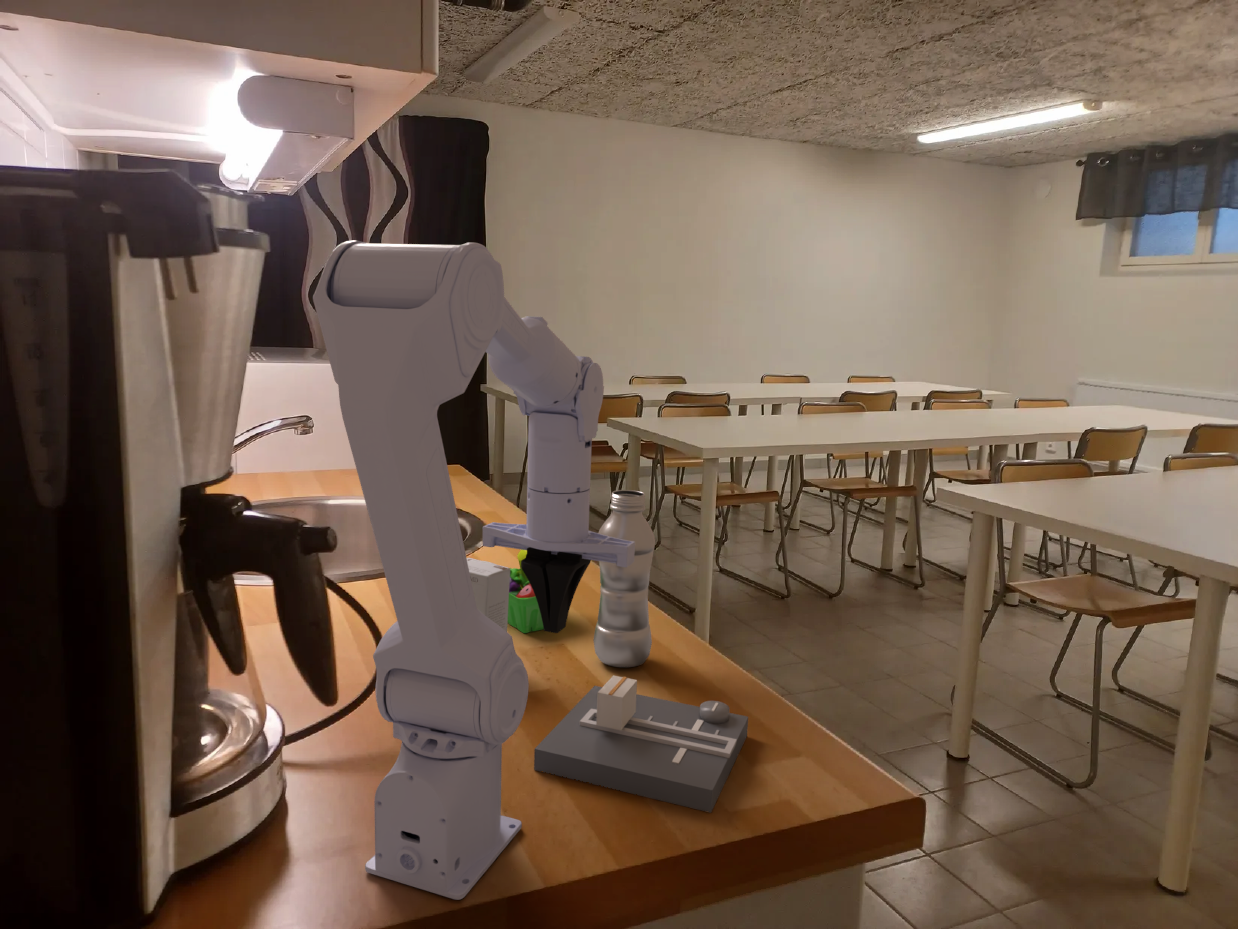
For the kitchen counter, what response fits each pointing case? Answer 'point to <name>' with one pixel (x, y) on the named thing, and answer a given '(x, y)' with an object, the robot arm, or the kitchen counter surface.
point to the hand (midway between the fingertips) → (554, 628)
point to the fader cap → (616, 702)
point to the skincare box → (490, 589)
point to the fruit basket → (523, 601)
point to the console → (649, 749)
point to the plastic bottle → (625, 586)
